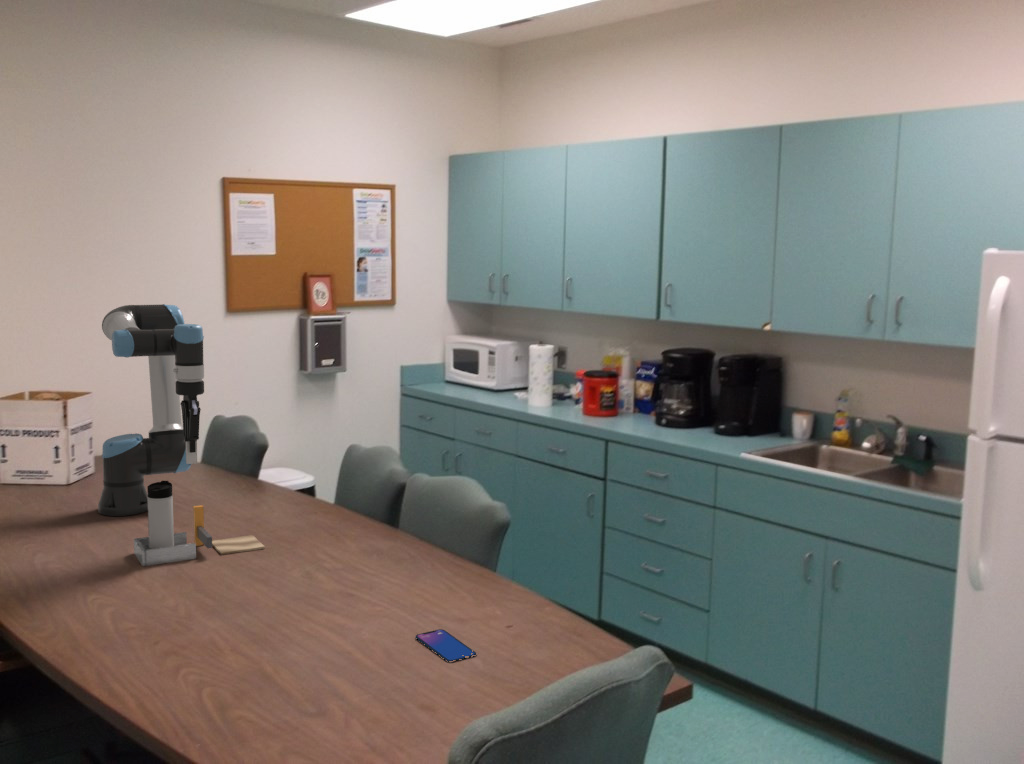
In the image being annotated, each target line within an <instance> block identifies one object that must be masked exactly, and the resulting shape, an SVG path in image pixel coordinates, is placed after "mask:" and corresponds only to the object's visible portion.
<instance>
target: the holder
mask: <svg viewBox="0 0 1024 764" xmlns="http://www.w3.org/2000/svg"><path fill="white" fill-rule="evenodd" d="M187 539H188V538H187V532H184V531H183V532H176V533H175V532H174V546H169V547H162V548H155V549H149V536H146V537H138V538H137V537H136V538H133V554H134V556H135V557H136V558H137V560H138V561H139V564H140V565H141V567H147V566H154V565H162V564H168V563H175V562H181V561H182V562H183V561H188V560H195V559H196V560H197V546H196V544H195V543H194V542H193V543H188V542H187Z"/></svg>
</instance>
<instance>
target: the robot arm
mask: <svg viewBox="0 0 1024 764" xmlns="http://www.w3.org/2000/svg"><path fill="white" fill-rule="evenodd" d="M184 319H185V318H184V315H183V312H182V310H181V309H180V308H179V307H178V306H177V305H174V304H165V303H164V304H126V305H121V306H118V307H116V308H114V309H112V310H109V312H108V313H107V314H106V315H105V316H104V317H103V319H102V321H101V330H102V333H103V335H104V336H105V337H106V338H107V339H108V340H110V341H111V350H112V353H113V356H115V357H116V358H119V357H120V358H131V357H132V358H133V357H136V358H137V357H148V358H147V359H148V368H149V369H148V372H149V383H150V384H149V385H150V399H151V400H150V401H151V413H152V427H151V429H150V430H149V431H148V437H146V438H145V437H144V436H143V435H142V434H141V433H127V434H120V435H117V436H116V435H115V436H112V437H110V438H108V439H106V440H105V441H104V442H103V443H102V450H101V451H102V453H101V459H102V476H103V477H102V479H103V480H102V481H103V488H102V492H101V494H100V498H99V500H98V505H97V507H98V508H97V511H98V513H99V514H100V515H102V516H103V515H104V516H109V517H123V516H124V517H125V516H133V515H134V516H135V515H138V514H143V513H145V512H148V490H147V488H146V487H145V479H144V477H145V476H152V475H165V474H177V473H182V472H187V471H189V469H191V466H192V464H198V443H197V442H198V440H199V439H200V415H201V410H202V409H201V407H200V401H199V400H198V397H197V396H199V395H203V394H204V393H205V381H204V380H203V379H205V364H204V339H205V338H204V337H205V335H204V333H203V331H204V330H203V326H202V325H201V324H195V323H185V320H184ZM181 396H182V397H183V398H182V400H181V399H180V397H181Z"/></svg>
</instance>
